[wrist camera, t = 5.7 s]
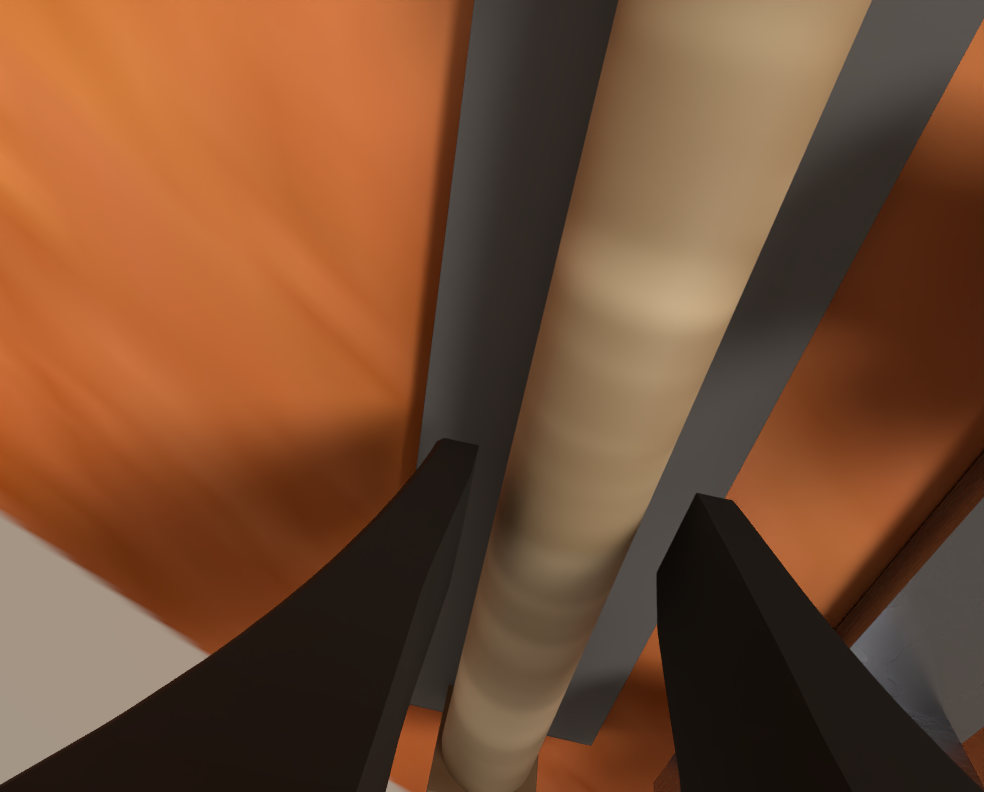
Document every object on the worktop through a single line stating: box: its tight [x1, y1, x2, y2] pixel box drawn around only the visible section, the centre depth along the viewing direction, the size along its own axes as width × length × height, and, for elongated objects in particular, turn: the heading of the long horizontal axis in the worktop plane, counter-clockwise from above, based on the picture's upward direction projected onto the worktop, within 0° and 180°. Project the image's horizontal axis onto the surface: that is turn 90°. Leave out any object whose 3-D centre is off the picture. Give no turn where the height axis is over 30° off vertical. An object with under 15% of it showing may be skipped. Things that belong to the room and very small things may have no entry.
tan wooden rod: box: [426, 0, 872, 792], centre depth 10 cm, size 19×3×3 cm, turn 170°
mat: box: [409, 0, 984, 746], centre depth 11 cm, size 6×20×1 cm, turn 170°
